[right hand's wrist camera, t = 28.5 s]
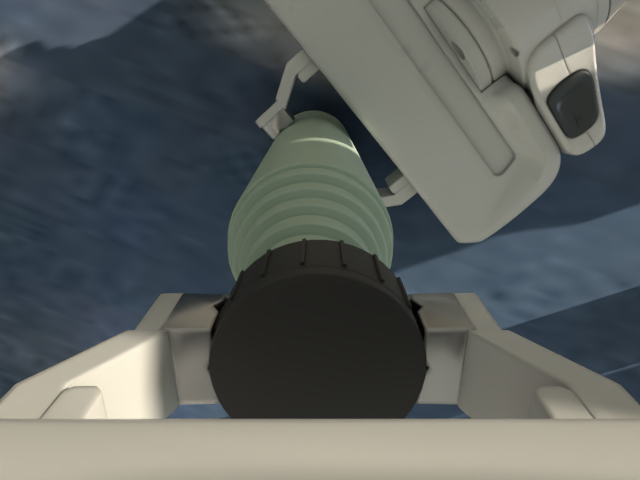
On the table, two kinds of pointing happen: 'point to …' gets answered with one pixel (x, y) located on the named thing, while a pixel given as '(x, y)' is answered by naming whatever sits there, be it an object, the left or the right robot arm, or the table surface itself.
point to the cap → (317, 338)
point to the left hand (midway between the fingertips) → (302, 174)
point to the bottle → (309, 196)
